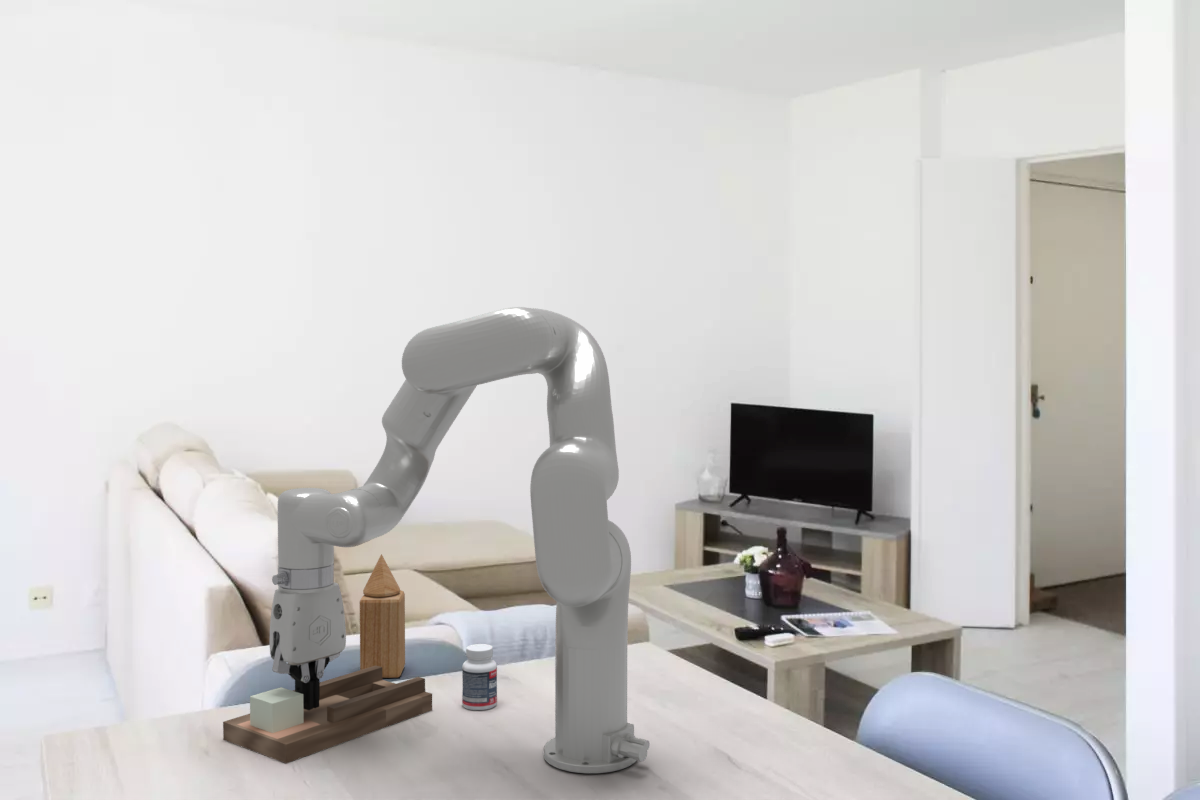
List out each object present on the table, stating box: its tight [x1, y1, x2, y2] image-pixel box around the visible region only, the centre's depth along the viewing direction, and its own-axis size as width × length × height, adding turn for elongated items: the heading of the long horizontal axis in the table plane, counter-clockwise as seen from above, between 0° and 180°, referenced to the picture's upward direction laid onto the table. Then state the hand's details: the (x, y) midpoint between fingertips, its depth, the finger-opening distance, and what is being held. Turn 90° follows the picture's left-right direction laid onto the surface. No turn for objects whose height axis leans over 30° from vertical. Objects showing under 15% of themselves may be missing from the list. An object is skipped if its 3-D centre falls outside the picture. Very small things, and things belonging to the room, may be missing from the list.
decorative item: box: [359, 554, 406, 679], centre depth 178 cm, size 7×7×20 cm
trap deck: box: [222, 666, 433, 764], centre depth 154 cm, size 14×26×4 cm, turn 143°
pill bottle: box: [461, 643, 498, 711], centre depth 162 cm, size 5×5×9 cm
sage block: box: [249, 687, 304, 733], centre depth 147 cm, size 5×5×4 cm
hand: (307, 706), depth 151 cm, fingers closed
